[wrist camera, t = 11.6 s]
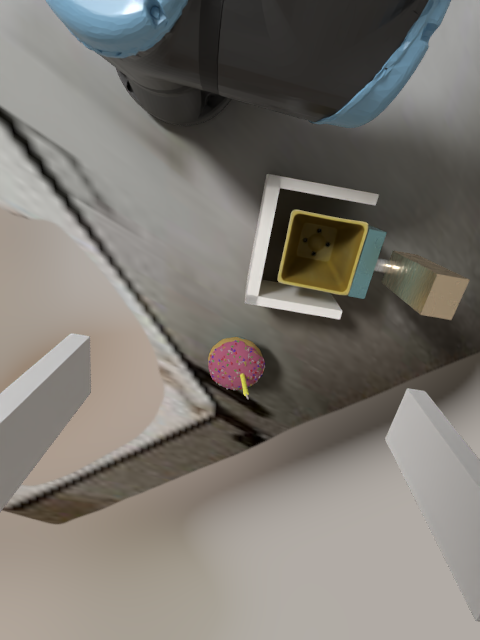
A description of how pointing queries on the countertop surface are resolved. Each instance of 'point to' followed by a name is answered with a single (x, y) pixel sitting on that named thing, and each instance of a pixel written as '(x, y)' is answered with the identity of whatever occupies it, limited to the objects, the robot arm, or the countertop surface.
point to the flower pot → (321, 252)
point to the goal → (255, 287)
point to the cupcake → (236, 364)
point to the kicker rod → (409, 278)
